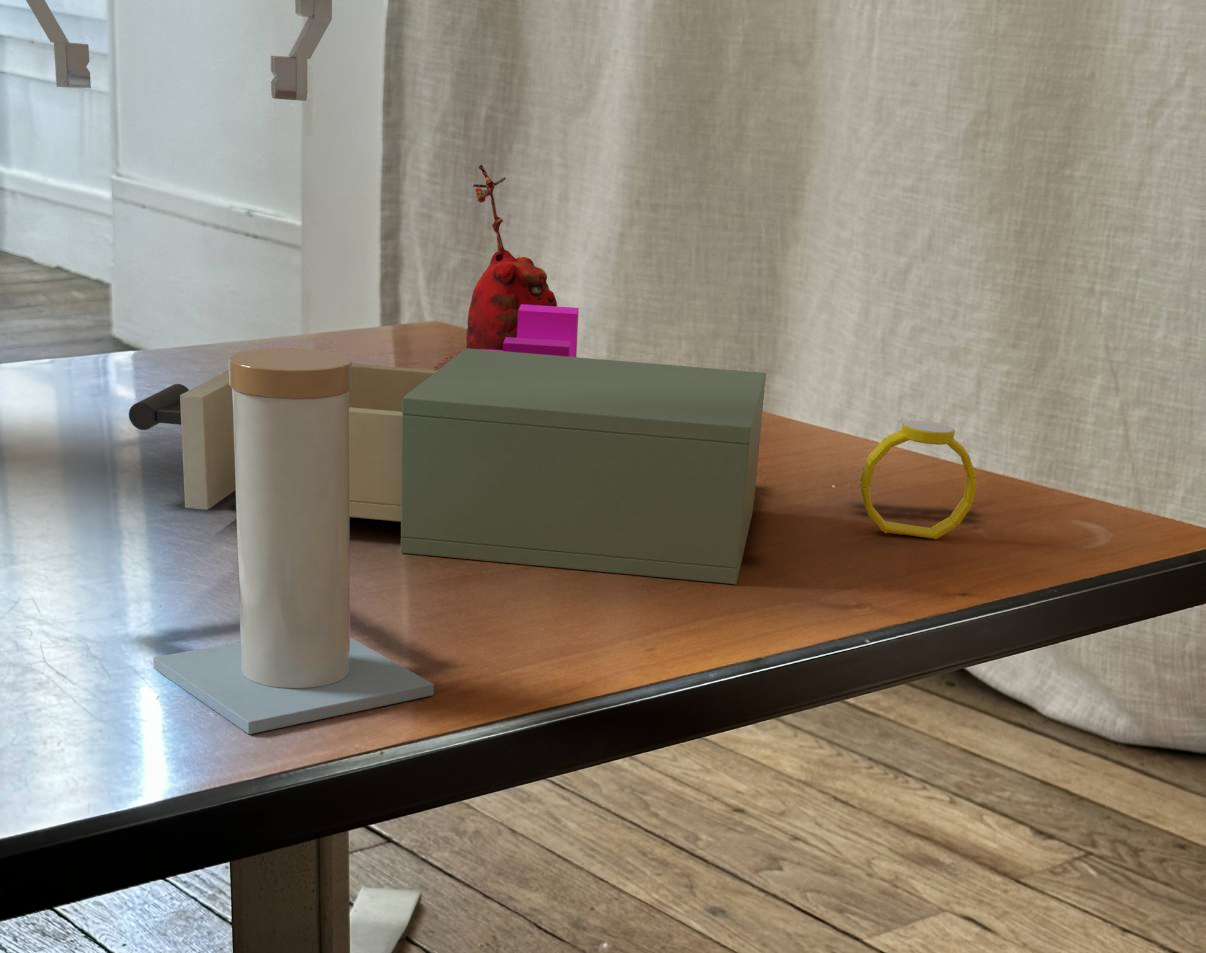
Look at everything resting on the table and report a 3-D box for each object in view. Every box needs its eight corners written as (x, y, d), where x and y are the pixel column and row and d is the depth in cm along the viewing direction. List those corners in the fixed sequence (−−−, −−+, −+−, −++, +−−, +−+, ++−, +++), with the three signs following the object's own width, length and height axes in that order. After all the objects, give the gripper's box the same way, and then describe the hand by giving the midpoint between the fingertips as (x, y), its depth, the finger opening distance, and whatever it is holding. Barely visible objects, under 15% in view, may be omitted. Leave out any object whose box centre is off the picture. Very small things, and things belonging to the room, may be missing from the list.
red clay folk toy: (545, 399, 120) (554, 174, 114) (449, 390, 122) (453, 166, 115) (570, 381, 127) (580, 167, 121) (479, 372, 128) (485, 159, 122)
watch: (857, 537, 91) (871, 426, 89) (853, 524, 94) (866, 415, 92) (969, 545, 91) (986, 434, 89) (962, 531, 94) (978, 423, 91)
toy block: (479, 417, 114) (482, 301, 111) (573, 423, 114) (578, 307, 111) (456, 470, 100) (459, 340, 97) (563, 477, 100) (569, 346, 97)
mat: (248, 735, 62) (248, 722, 62) (153, 668, 68) (152, 656, 67) (434, 695, 67) (434, 683, 66) (330, 636, 72) (330, 625, 72)
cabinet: (400, 552, 84) (401, 397, 81) (462, 483, 97) (465, 347, 94) (736, 584, 82) (751, 427, 79) (753, 510, 96) (766, 372, 92)
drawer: (102, 504, 86) (94, 387, 83) (195, 447, 98) (191, 343, 95) (489, 539, 84) (492, 421, 81) (535, 477, 96) (540, 372, 94)
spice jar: (223, 683, 65) (211, 364, 60) (259, 646, 69) (251, 344, 64) (335, 695, 65) (332, 374, 60) (365, 657, 69) (365, 353, 64)
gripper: (405, -230, 77) (400, 102, 82) (-82, -285, 71) (-51, 76, 77) (432, -246, 71) (424, 110, 77) (-94, -307, 65) (-60, 83, 71)
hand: (183, 93), depth 77 cm, fingers open, 8 cm apart
